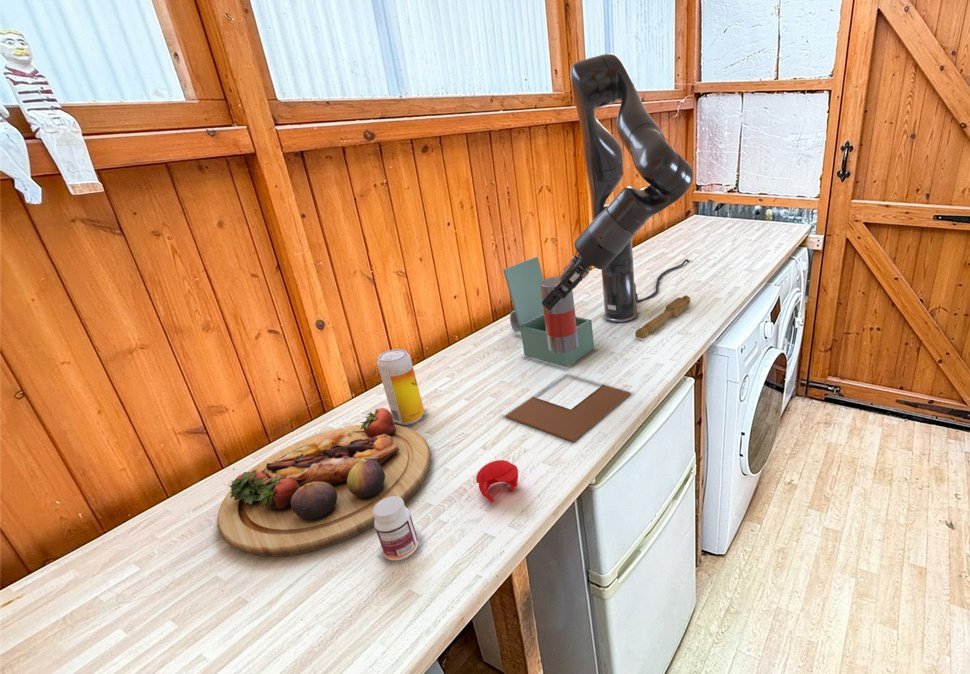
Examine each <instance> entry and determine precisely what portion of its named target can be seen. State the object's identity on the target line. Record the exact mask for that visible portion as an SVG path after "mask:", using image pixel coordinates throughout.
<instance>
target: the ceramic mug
mask: <svg viewBox="0 0 970 674" xmlns="http://www.w3.org/2000/svg"><path fill="white" fill-rule="evenodd" d="M542 315H544V314H542ZM542 315H540V316H542ZM540 316H538V317H540ZM538 317H536V318H538ZM536 318H534V319H536ZM534 319H532V320H534ZM532 320H530V321H532ZM530 321H528V322H530ZM509 322H510V327H511V328H512V331H513V332H514V333H515V334H516V333H519V332H521V329H520V326H522V325H524V324H526V323H528V322H526V323H524V324H522V325H519V324H518V320H517V317H516V313H515V310H512V311H511V312H510V314H509Z"/></svg>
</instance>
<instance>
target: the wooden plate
mask: <svg viewBox="0 0 970 674" xmlns="http://www.w3.org/2000/svg"><path fill="white" fill-rule="evenodd" d="M365 418H366V419H365V421H360V422H359V423H360V424H355V425H348V426H344V427H338V428H334V429H331V430H327V431H323V432H321V433H317V434H315V435H311V436H309V437H306V438H304V439H301V440H299V441H296V442H294V443H292V444H290V445H289V446H286V447H284V448H282V449H280V450H278V451H277V452H275V453H272V454H271V455H270V456H269V457H267V458H265V459H263V460H262V461H260V462H259V463H257V464H256V465H255V466H254V467H252V468H251V469H250V470H248V471H244V472H243V473H240V474H239V475H238V476H237V477H236V478H234V480H232V481H231V484H230V485H229V487H230V489H229V490H228V491H227V494H226V495H225V497H224V499H223V500H222V502H221V504H220V506H219V509H218V513H217V514H218V515H217V518H216V519H217V521H216V522H217V529H218V532H219V534H220V536H221V538H222V539H223V540H224V541H225V542H226V543H227V544H228V545H229V546H231V547H232V548H233V549H235V550H238V551H240V552H242V553H246V554H249V555H253V556H259V557H281V556H282V557H283V556H292V555H299V554H305V553H308V552H312V551H317V550H321V549H324V548H326V547H330V546H333V545H336V544H338V543H340V542H343V541H346V540H348V539H350V538H352V537H355V536H357V535H359V534H361V533H363V532H365V531H366V530H368V529H370V528H372V527H374V521H375V518H374V514H373V508H374V506H375V505H376V504H377V503H378V502H379V501H381V500H383V499H385V498H387V497H391V496H398V497H401V498H402V499H403V502H404V504H406V502H407V501H408V500H409V499H410V498H411V497H412V496H414V494H415V493H416V492H417V491H418V489H419V488H420V487H421V486H422V484H423V482H424V481H425V478H426V477H427V474H428V472H429V469H430V466H431V460H432V454H431V453H432V452H431V449H430V446H429V444H428V442H427V441H426V439H425V438H424V437H423V436H422V435H421V434H420V433H418V432H417V431H415V430H414V429H411V428H409V427H406V426H404V425H401V424H394V420H393V417H392V414H391V411H390V410H389V409H388V408H385V407H380V408H375V410H374V413H373V412H371V411H369V413H367V416H365Z"/></svg>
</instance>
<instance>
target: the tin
mask: <svg viewBox="0 0 970 674" xmlns="http://www.w3.org/2000/svg"><path fill="white" fill-rule="evenodd" d="M559 277H560V276H552V277H548V278H545V279H544V278H543V279H544V280H542V281H541V282H540V287H541V295H542V301H543V300H544V299H545V298H546V296H547V295H548V294H549V293H550V292H551V291H552V290H553V287H554V286H556V285H557V283H558V282H559V281H560V279H559ZM560 288H561V289H563V290H564V291H565V290H566V289H567V288H566V287H565V286H564V285H561V286H560ZM543 311H544V319H545V326H546V333H547V339H548V347H549V350H550V351H551V352H554V353H567V352H571V351H573V350H575V349H576V348H577V347H578V337H577V325H576V317H577V316H576V309H575V301H574V292H573V289H572V290H571V292H570V293H569V294H568V295H567V296H566V298H564V299H562V298H561V299H560V300H559V301H558V302H557V303H556V305H555V306H554V307H553V308H552V309H551V310H549V309H547V308H546V307H545V306H543Z"/></svg>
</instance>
